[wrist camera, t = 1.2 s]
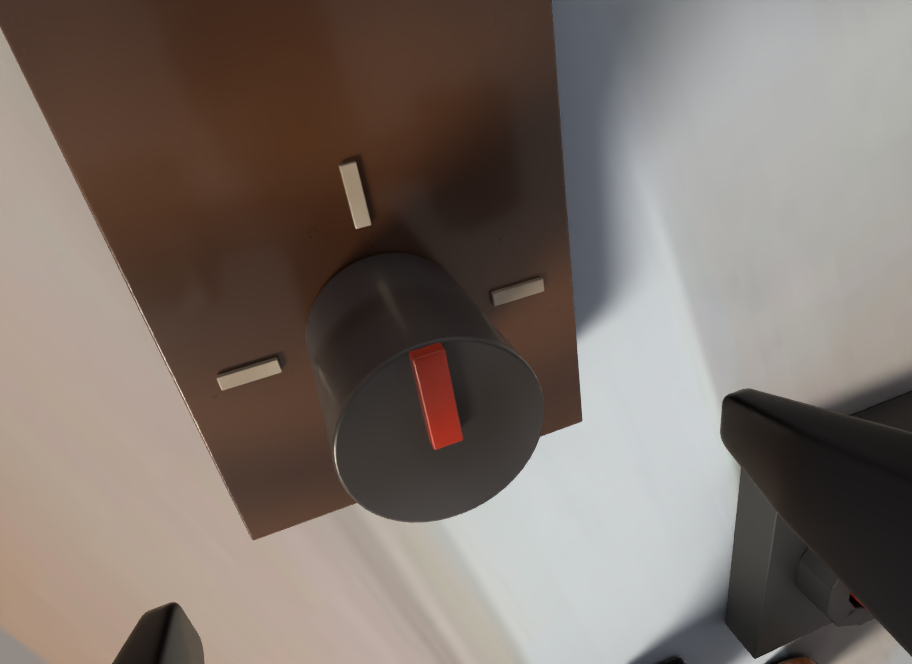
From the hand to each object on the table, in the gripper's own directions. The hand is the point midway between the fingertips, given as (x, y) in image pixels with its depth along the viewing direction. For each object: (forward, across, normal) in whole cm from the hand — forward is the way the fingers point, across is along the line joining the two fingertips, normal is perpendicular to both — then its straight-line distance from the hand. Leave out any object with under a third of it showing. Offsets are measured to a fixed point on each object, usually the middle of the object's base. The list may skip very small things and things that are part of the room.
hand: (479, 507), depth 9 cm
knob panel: (+9, 0, -2) cm, 10 cm away
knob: (+6, 0, 0) cm, 6 cm away
